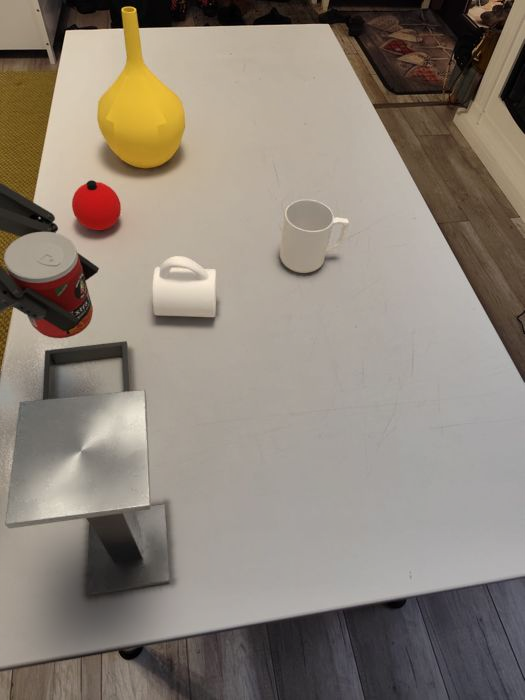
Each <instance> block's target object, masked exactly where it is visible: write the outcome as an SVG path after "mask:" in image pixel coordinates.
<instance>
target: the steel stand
mask: <svg viewBox="0 0 525 700" xmlns="http://www.w3.org/2000/svg"><path fill="white" fill-rule="evenodd" d="M147 401H148V400H147V392H146V389H136V390H132V391H126V392H124V391H117V392H116V391H115V392H107V393H97V394H88V395H86V394H85V395H76V396H67V397H58V398H57V397H56V398H54V399H46V400H43V399H36V400H28V401H26V400H25V401H19V403H18V412H17V413H18V414H17V422H16V430H15V439H14V447H13V453H12V455H13V456H12V463H11V472H10V480H9V489H8V495H7V496H8V497H7V506H6V513H5V521H4V522H5V523H4V525H5V526H6V527H7V528H8V529H15V528H23V527H30V526H31V527H32V526H39V525H45V524H52V523H53V524H54V523H59V522H60V523H61V522H67V521H74V520H83V519H86V520H87V522H88V524H89V525H88V552H87V553H88V555H87V556H88V557H87V558H88V559H87V590H86V591H87V592H86V593H87V595H88V596H93V595H100V594H107V593H112V592H119V591H125V590H132V589H137V588H145V587H151V586H156V585H157V586H158V585H163V584H169V583H171V577H170V558H169V539H168V523H167V522H168V521H167V508H166V506H167V505H166V503H160V504H152V502H151V501H152V500H151V499H152V498H151V479H150V478H151V476H150V474H151V473H150V454H149V453H150V450H149V449H150V448H149V429H148V426H149V425H148V402H147Z"/></svg>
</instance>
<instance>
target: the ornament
mask: <svg viewBox="0 0 525 700" xmlns="http://www.w3.org/2000/svg"><path fill="white" fill-rule="evenodd" d="M121 205H122V204H121V200H120V198H119V196H118V193H116V191H115V190H114V189H113V188H112V187H110V186H109V185H107V184H105V183H103V182H99V181H95V180H93V179H92V180H91V179H90V180H88V181H87V182H86V183H84V184H82V185H80V186H79V187H78V188H77V190H75V192H74V194H73V196H72V201H71V209H72V212H73V214H74V217H75V218H76V220H77V221H78V222H79V223H80V224H81V225H82V226H84V227H85V228H87V229H90V230H93V231H103V230H107V229H109V228H112V227H113V226H114V225H115V224H116V223H117V222H118V220H119V218H120V216H121V211H122V208H121V207H122V206H121Z"/></svg>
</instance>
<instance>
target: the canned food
mask: <svg viewBox="0 0 525 700" xmlns="http://www.w3.org/2000/svg"><path fill="white" fill-rule="evenodd" d="M78 253H79V252H78V250H77V248H76V246H75V244H74V242H73V241H72V240H71V239H69V238H68V237H67V236H65V235H63V234H61V233H57V232H55V233H53V232H35V233H30V234H27V235H24V236H22V237H20V236H19V237H18V238H16V239H14V240H13V241H12V242H11V243H10V244H9V245H8V246H7V248H6V249H5V252H4V253H3V254H4V255H3V261H4V265H5V268H6V272H7V273H8V275H9V276H10V277H11V278H12V279H13V280H14V282H15V283H16V284H17V285H18V286H19V287H20V288H21V290H22V291H24V290H25V289H26V288H28V287H30V288H31V289H33V290H34V291H36V292H38V293H39V294H41V295H42V296H44V297H46V298H47V299H49V300H50V301H52V302H53V303H55V304H57V305H58V306H60V307H61V308H63V309H64V310H66V311H68V312H69V313H71V314H72V315H74V316H76V317H77V318H79V319H78V322H77V324H75V325H74V326H72V327H71V328H69V329H68V330H66V331H65V332H64V331H62V330H61V329H59V328H58V327H56V326H54V325H53V324H51V323H49V322H48V321H46V320H44V319H43V318H42V319H41V320H35V319H33V318H31V317H30V316H28V315H27V314H26V316H27V318H28V320H29V322H30V324H31V326H32V327H33V328H34V329H35V330H36V331H37V332H39V333H40V334H41V335H43V336H45V337H48V338H51V339H52V338H53V339H66V338H67V339H68V338H70V337H71V338H72V337H74V336H76V335H78V334H80V333H82V332H83V331H85V329H86V328H88V326H89V325H90V323H91V322H92V318H93V312H94V308H93V304H92V299H91V296H90V293H89V288H88V285H87V280H86V281H85V277H84V274H83V270H82V266H81V263H80V259H79V256H78Z"/></svg>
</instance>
